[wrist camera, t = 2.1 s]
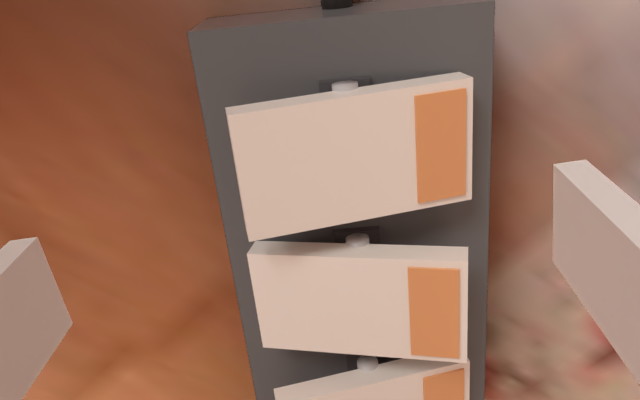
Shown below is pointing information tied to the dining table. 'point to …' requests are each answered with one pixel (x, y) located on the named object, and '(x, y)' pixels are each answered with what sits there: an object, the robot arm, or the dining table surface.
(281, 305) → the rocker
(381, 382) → the rocker
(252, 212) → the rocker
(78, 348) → the dining table surface
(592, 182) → the robot arm
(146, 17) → the dining table surface
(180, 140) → the dining table surface
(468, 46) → the power strip
